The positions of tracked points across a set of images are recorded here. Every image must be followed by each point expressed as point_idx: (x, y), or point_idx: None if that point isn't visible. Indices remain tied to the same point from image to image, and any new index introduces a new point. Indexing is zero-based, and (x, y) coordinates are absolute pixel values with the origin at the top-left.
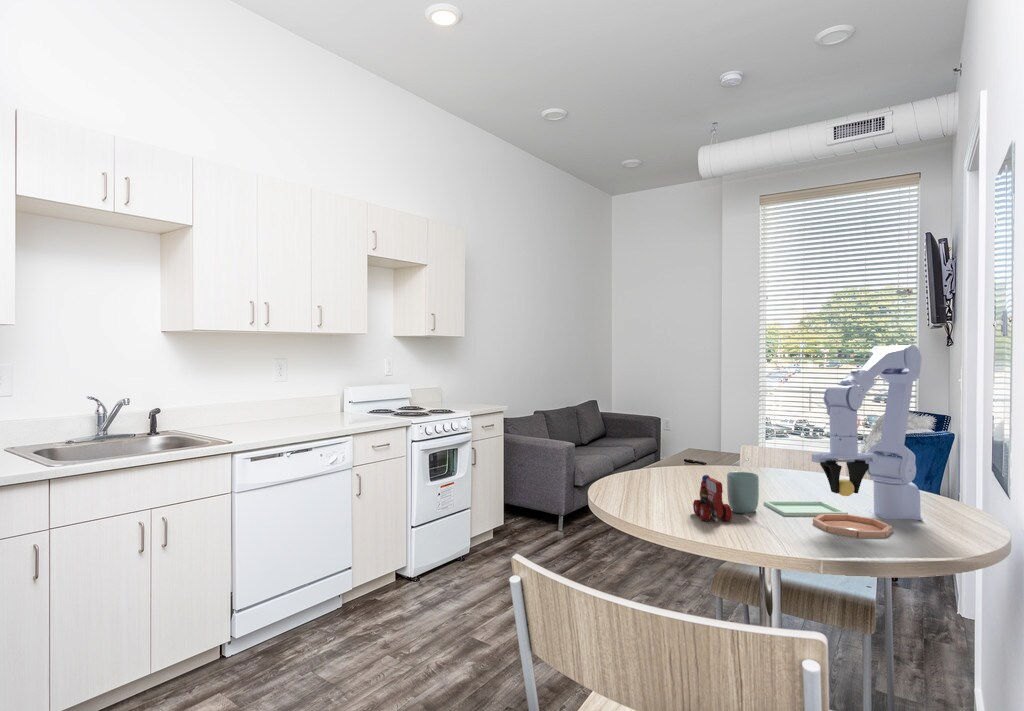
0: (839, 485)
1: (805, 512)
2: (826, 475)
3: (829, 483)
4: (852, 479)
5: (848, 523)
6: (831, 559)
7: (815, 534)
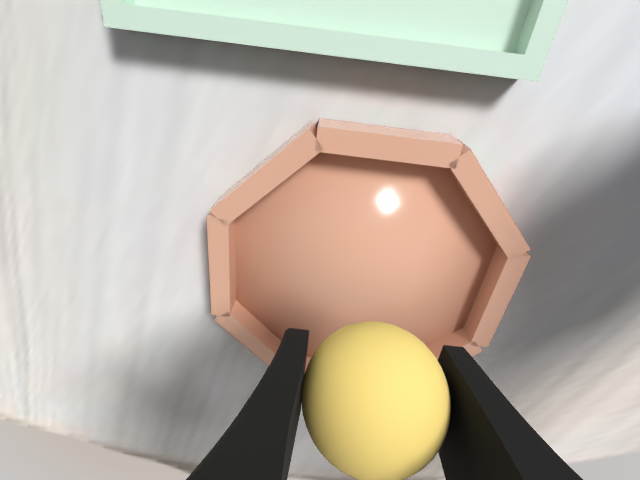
0: (308, 430)
1: (250, 44)
2: (221, 441)
3: (264, 376)
4: (478, 465)
5: (396, 218)
6: (126, 447)
7: (176, 293)
